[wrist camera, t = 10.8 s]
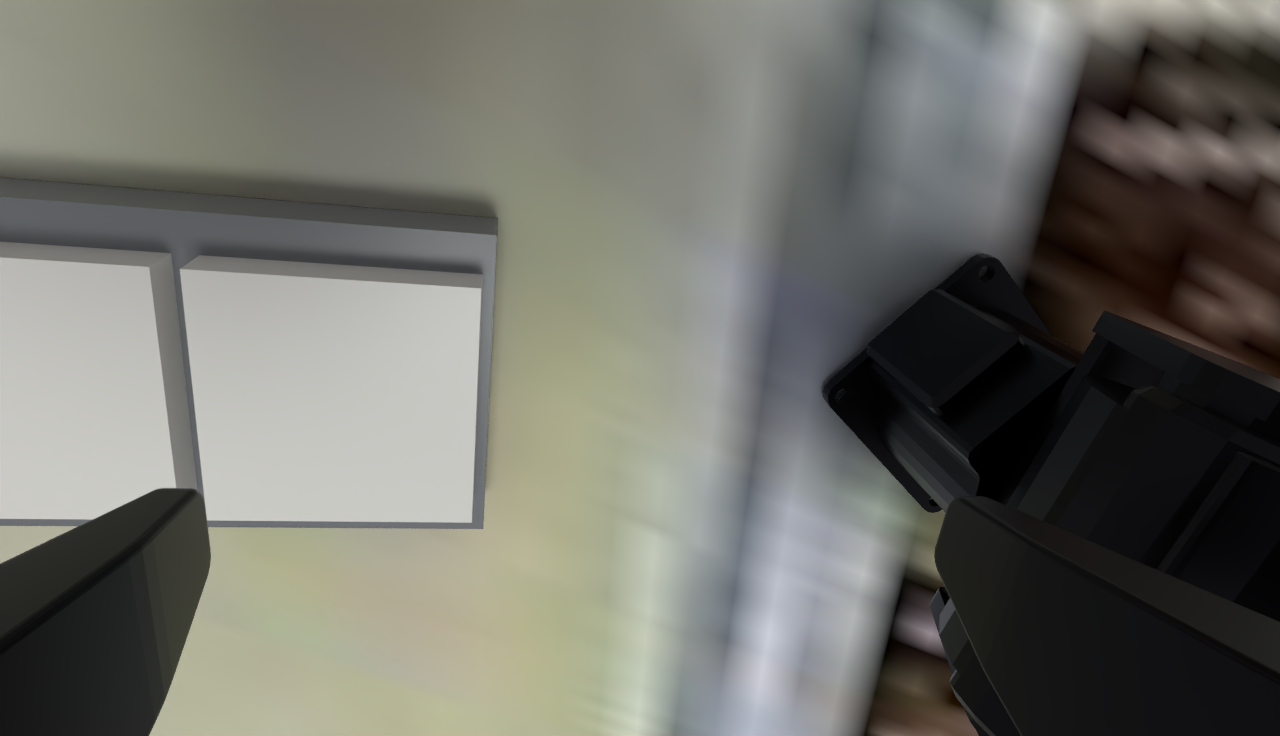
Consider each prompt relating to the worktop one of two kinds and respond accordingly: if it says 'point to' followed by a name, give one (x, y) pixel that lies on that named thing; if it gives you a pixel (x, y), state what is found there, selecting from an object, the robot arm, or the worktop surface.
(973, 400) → the robot arm
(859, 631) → the worktop surface
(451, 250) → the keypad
